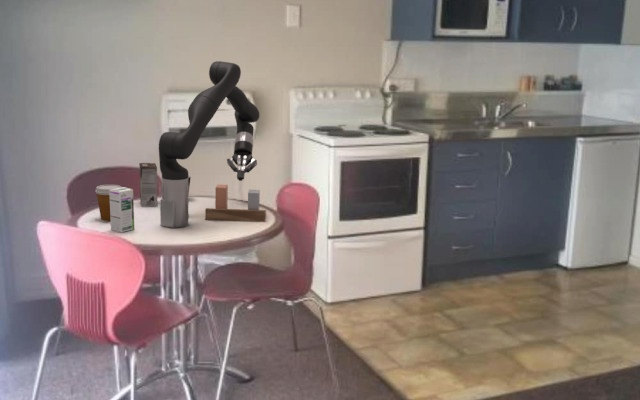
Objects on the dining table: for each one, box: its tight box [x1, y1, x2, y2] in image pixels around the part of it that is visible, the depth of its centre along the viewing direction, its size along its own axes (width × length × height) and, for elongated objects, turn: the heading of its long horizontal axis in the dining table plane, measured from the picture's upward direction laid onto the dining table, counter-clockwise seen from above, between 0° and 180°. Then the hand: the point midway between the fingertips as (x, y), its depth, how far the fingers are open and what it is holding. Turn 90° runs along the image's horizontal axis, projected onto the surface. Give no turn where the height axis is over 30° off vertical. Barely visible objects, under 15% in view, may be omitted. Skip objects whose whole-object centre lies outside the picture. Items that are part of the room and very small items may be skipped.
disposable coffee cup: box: [95, 184, 122, 222], centre depth 245 cm, size 10×10×12 cm
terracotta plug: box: [214, 183, 229, 209], centre depth 262 cm, size 6×4×10 cm, turn 2°
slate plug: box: [247, 189, 261, 210], centre depth 255 cm, size 6×4×10 cm, turn 2°
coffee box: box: [139, 162, 158, 208], centre depth 269 cm, size 9×6×16 cm
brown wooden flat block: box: [204, 207, 267, 223], centre depth 256 cm, size 12×22×4 cm, turn 92°
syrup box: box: [109, 186, 135, 234], centre depth 231 cm, size 6×6×14 cm
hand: (240, 179), depth 272 cm, fingers closed
